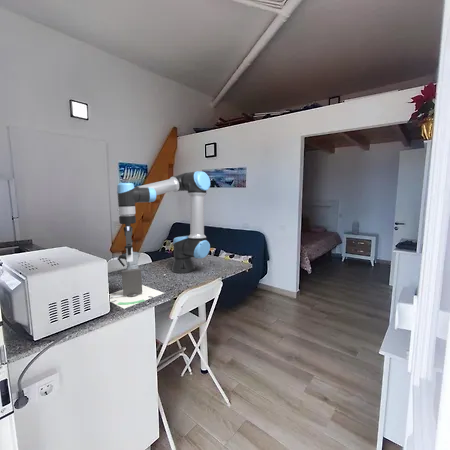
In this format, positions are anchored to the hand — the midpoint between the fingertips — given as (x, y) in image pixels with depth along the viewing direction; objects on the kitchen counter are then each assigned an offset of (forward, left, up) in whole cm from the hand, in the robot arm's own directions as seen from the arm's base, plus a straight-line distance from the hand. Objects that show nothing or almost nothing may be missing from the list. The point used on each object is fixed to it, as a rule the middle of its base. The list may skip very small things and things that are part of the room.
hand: (129, 258), depth 125 cm
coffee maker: (-18, -32, -20) cm, 42 cm away
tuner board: (0, 0, -20) cm, 20 cm away
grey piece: (+2, -1, -19) cm, 19 cm away
